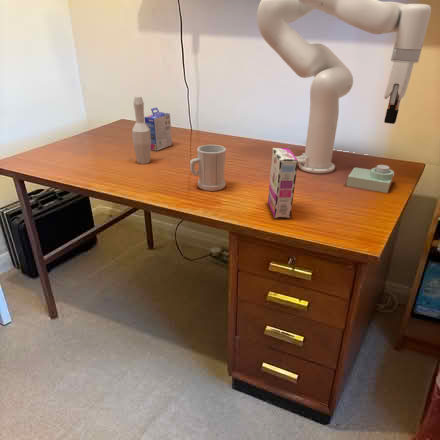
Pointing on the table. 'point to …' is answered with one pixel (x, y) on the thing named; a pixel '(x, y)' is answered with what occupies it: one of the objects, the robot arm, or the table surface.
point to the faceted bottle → (141, 133)
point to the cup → (210, 167)
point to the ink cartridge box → (159, 129)
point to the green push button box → (370, 179)
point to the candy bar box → (282, 182)
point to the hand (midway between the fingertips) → (389, 122)
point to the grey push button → (382, 169)
